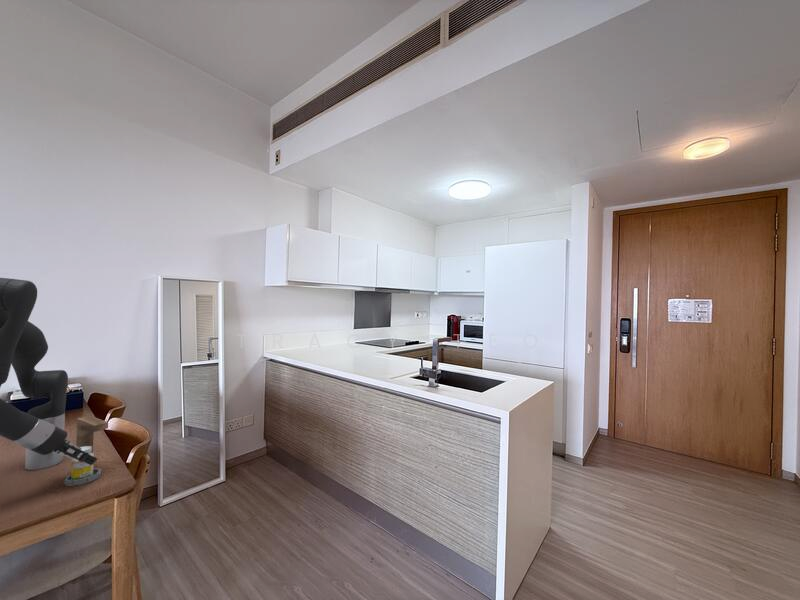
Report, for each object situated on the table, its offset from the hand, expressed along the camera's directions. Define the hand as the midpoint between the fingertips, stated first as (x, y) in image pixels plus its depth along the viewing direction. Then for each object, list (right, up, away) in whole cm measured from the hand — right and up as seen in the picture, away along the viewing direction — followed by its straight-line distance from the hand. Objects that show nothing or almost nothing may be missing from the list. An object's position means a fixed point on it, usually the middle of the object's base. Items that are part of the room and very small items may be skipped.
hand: (88, 458), depth 109 cm
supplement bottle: (-1, -6, -1) cm, 6 cm away
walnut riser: (-2, -6, +2) cm, 7 cm away
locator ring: (-1, -6, -1) cm, 6 cm away
